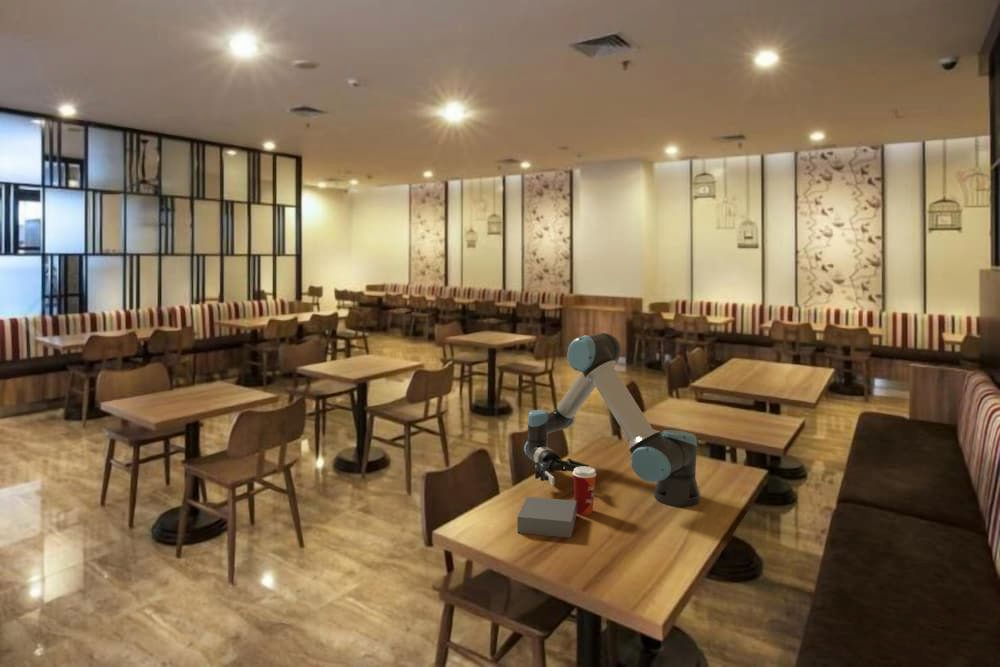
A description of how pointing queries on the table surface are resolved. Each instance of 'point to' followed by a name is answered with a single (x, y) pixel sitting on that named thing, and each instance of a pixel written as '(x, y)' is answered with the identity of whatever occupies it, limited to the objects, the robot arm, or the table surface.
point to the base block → (547, 517)
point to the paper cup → (584, 489)
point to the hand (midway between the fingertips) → (572, 479)
